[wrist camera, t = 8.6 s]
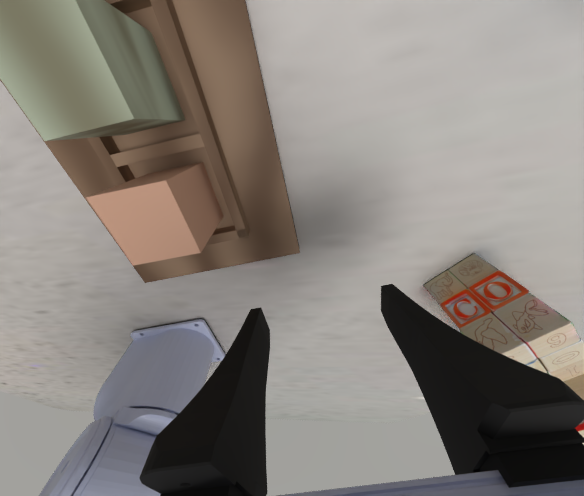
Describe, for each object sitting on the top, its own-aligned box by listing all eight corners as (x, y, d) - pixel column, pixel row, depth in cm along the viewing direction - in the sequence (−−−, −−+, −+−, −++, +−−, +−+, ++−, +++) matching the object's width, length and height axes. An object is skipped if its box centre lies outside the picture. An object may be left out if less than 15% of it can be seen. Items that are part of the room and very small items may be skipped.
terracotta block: (174, 226, 19) (133, 265, 14) (147, 174, 17) (85, 197, 11) (223, 216, 19) (200, 252, 13) (202, 162, 16) (165, 180, 11)
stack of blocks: (420, 284, 25) (522, 405, 14) (473, 250, 23) (639, 362, 12) (487, 358, 33) (585, 469, 22) (531, 338, 31) (662, 451, 20)
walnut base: (150, 276, 23) (102, 332, 17) (-66, -38, 12) (-441, -212, 6) (299, 247, 22) (305, 296, 16) (216, -131, 11) (129, -471, 4)
